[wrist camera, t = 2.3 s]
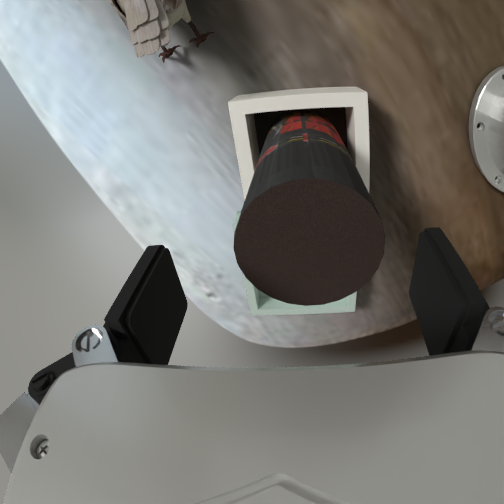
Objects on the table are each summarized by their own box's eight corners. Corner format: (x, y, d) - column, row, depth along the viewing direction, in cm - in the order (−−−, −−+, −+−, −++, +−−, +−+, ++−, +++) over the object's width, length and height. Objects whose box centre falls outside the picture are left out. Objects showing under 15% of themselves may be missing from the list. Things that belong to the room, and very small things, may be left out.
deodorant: (351, 159, 24) (402, 274, 12) (289, 189, 27) (280, 321, 15) (317, 96, 22) (347, 149, 10) (252, 131, 24) (203, 223, 12)
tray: (356, 204, 27) (361, 218, 25) (352, 294, 33) (354, 311, 31) (237, 211, 29) (232, 225, 27) (254, 298, 35) (251, 315, 32)
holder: (356, 86, 21) (367, 92, 18) (359, 193, 26) (368, 215, 23) (237, 95, 23) (227, 102, 19) (254, 199, 28) (248, 221, 24)
